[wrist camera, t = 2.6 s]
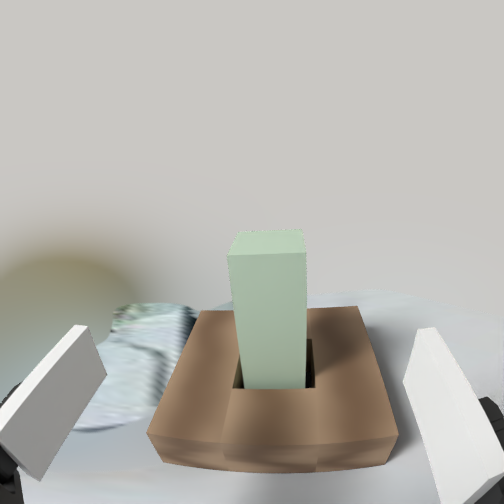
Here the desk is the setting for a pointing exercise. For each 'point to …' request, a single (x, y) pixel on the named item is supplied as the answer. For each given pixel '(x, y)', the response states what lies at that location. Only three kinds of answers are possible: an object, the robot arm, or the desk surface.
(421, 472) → the desk surface
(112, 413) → the desk surface
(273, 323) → the sage block
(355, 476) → the desk surface
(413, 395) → the robot arm
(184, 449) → the pocket dock
